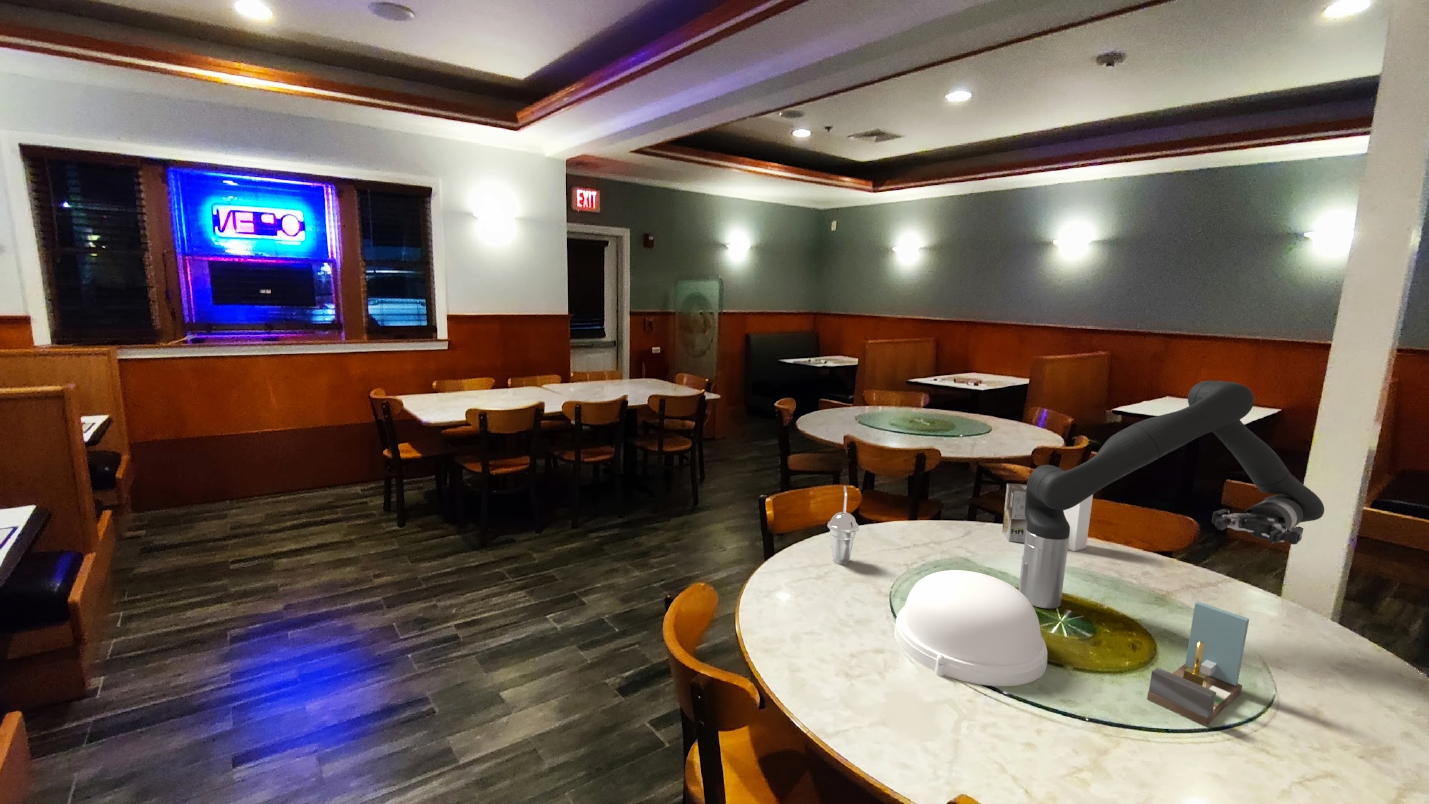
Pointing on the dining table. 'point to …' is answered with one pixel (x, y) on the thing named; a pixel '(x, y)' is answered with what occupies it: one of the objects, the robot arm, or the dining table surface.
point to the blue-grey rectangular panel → (1218, 642)
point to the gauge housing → (1191, 695)
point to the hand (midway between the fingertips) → (1244, 531)
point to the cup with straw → (842, 534)
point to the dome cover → (972, 629)
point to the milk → (1079, 524)
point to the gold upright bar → (1196, 668)
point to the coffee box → (1015, 513)
